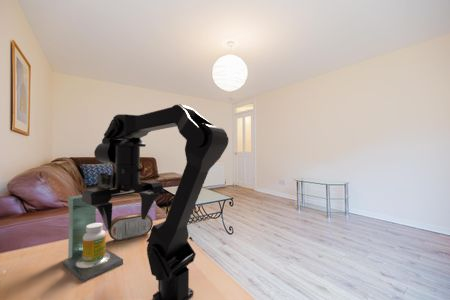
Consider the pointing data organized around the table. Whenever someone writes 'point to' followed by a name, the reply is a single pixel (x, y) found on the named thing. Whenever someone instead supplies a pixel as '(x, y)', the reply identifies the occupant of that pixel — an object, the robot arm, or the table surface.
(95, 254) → the supplement bottle
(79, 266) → the stand
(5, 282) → the table surface
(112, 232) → the tin
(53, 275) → the table surface
